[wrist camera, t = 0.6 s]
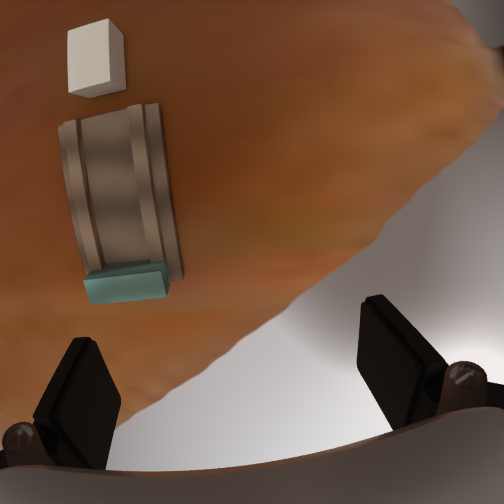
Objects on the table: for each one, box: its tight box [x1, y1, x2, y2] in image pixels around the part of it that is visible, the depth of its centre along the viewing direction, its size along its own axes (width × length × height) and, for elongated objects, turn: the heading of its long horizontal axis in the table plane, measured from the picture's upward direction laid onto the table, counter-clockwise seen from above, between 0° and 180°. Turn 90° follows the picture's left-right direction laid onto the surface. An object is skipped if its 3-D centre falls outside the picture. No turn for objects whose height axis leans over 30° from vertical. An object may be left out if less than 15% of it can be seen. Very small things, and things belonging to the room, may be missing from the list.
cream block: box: [68, 18, 126, 98], centre depth 26 cm, size 7×4×6 cm, turn 5°
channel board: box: [58, 103, 184, 305], centre depth 32 cm, size 20×12×6 cm, turn 5°
